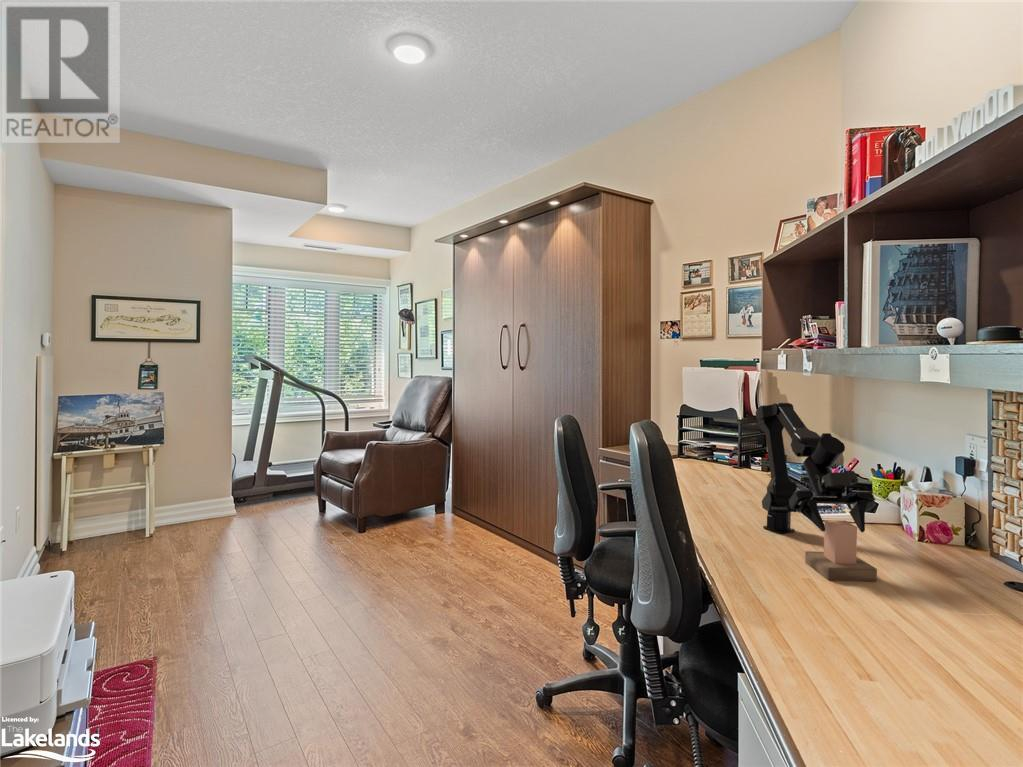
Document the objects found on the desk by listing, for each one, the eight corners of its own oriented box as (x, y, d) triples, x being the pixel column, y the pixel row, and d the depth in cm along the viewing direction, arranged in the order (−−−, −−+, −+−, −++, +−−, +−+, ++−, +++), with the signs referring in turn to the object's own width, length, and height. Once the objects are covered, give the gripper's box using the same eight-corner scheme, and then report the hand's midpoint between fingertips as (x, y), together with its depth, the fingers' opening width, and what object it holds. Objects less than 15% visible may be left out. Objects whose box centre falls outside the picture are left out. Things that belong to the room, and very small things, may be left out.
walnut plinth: (805, 562, 135) (805, 551, 135) (849, 563, 135) (849, 552, 135) (828, 580, 124) (828, 567, 124) (876, 581, 124) (877, 569, 124)
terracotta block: (823, 555, 132) (824, 520, 132) (844, 556, 132) (845, 520, 132) (834, 563, 127) (835, 526, 127) (856, 563, 127) (857, 526, 127)
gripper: (795, 458, 133) (816, 513, 122) (871, 459, 132) (900, 515, 121) (780, 482, 141) (799, 536, 131) (852, 483, 140) (877, 538, 129)
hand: (843, 531), depth 128 cm, fingers open, 9 cm apart
